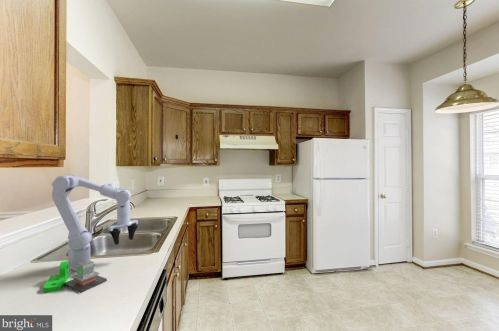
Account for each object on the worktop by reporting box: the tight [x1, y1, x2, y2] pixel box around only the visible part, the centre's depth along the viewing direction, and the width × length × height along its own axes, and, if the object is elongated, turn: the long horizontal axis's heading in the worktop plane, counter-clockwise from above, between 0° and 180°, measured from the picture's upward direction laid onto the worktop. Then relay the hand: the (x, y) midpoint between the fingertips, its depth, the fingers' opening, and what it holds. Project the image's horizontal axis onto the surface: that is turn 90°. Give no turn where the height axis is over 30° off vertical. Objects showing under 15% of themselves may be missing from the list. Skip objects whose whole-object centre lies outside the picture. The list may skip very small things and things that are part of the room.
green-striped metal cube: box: [76, 260, 95, 278], centre depth 97 cm, size 4×4×5 cm
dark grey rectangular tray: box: [63, 270, 108, 294], centre depth 97 cm, size 12×10×4 cm
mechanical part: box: [43, 260, 70, 294], centre depth 96 cm, size 12×6×8 cm, turn 26°
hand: (123, 241), depth 116 cm, fingers open, 7 cm apart
